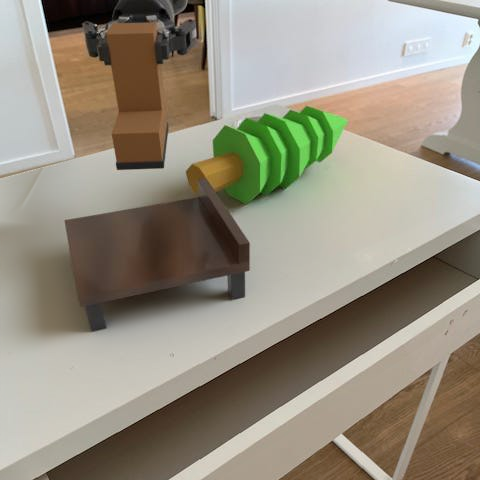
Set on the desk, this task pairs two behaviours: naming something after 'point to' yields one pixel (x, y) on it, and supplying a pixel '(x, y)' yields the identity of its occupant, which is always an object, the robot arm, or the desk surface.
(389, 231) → the desk surface
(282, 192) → the desk surface
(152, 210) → the shoe shelf
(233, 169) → the decorative tree
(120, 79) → the boot
